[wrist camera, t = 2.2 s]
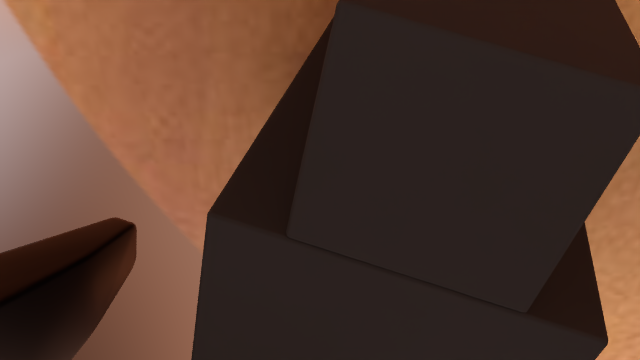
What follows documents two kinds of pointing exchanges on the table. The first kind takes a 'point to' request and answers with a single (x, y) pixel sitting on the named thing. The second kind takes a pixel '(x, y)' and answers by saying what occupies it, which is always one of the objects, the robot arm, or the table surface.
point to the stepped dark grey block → (427, 188)
